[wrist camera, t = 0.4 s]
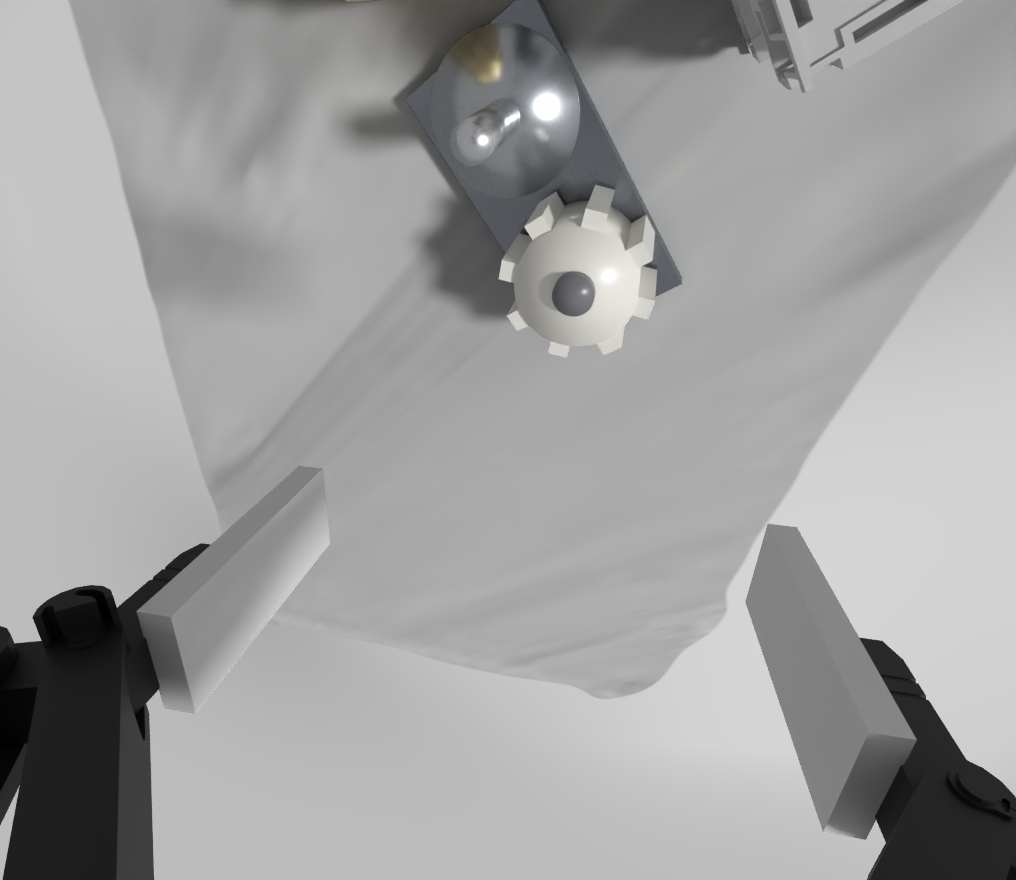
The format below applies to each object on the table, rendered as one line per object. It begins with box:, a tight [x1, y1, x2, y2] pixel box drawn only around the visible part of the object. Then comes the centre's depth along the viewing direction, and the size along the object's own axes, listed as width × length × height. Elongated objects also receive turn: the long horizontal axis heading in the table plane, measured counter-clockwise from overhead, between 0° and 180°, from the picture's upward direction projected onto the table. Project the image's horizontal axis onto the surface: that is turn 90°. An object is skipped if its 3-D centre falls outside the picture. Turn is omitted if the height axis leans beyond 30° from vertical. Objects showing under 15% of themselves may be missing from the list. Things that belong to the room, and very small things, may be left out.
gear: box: [499, 185, 657, 358], centre depth 34 cm, size 9×9×6 cm
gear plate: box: [405, 0, 682, 297], centre depth 32 cm, size 9×18×8 cm, turn 34°
